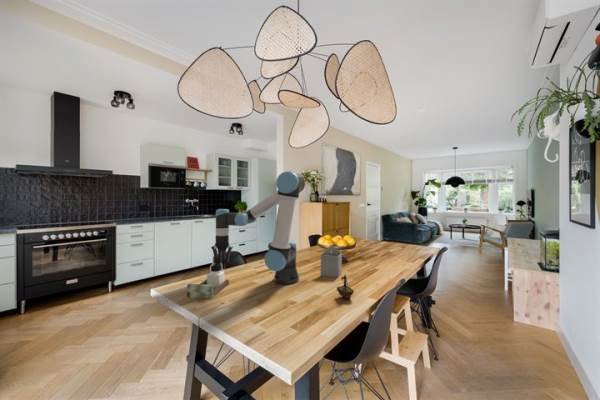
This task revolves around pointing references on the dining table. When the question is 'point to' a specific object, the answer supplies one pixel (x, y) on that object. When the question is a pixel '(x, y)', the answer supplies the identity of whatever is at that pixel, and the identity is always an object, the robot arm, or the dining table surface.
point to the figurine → (345, 289)
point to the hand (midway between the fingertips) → (221, 274)
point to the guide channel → (204, 289)
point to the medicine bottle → (215, 275)
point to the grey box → (331, 262)
